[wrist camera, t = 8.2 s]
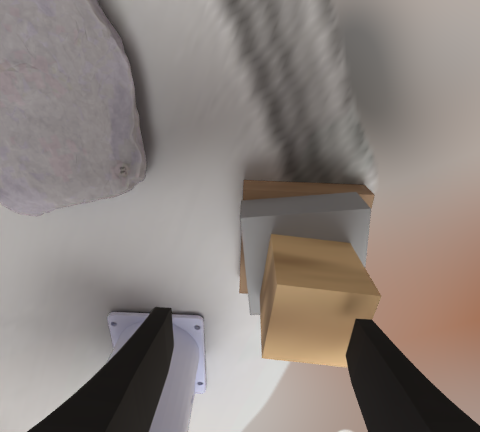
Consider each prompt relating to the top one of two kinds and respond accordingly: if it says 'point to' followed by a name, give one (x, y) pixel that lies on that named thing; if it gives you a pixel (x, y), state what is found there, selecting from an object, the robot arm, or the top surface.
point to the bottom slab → (291, 189)
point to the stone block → (65, 107)
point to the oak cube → (312, 299)
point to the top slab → (299, 228)
